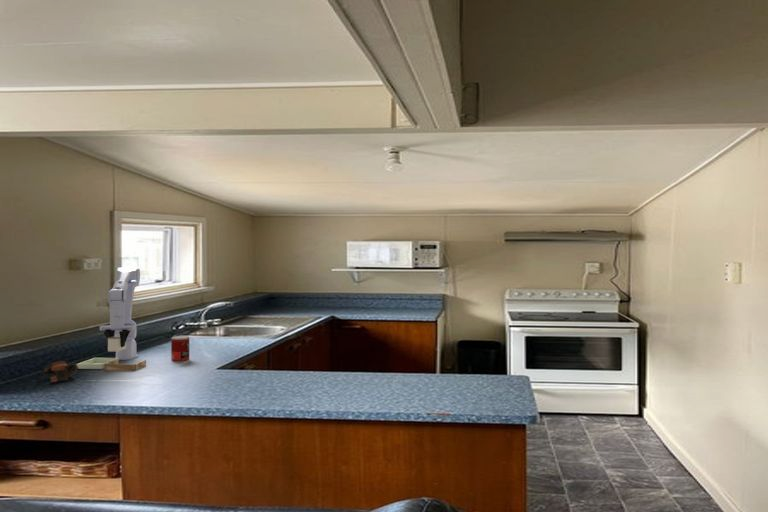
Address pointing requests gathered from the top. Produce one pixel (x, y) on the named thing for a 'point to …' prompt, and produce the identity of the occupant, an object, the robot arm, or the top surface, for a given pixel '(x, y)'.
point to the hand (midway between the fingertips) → (117, 346)
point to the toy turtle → (60, 370)
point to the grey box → (115, 343)
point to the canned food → (180, 348)
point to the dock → (124, 366)
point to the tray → (95, 363)
